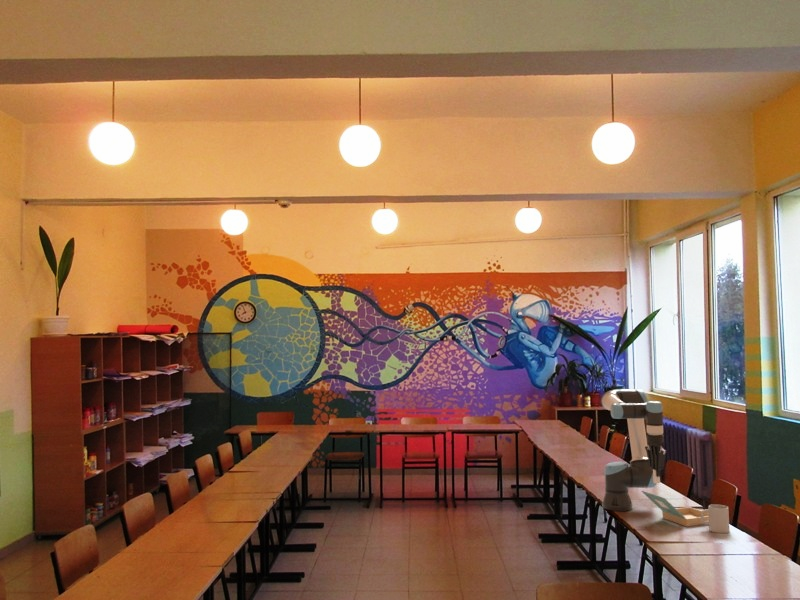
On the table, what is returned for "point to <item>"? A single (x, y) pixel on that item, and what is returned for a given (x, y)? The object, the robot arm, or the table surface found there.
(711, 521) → the mug
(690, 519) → the box
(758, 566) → the table surface
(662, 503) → the lid
